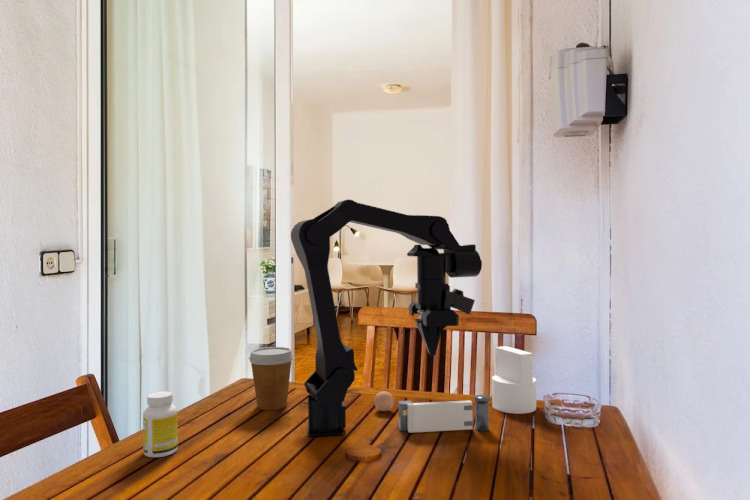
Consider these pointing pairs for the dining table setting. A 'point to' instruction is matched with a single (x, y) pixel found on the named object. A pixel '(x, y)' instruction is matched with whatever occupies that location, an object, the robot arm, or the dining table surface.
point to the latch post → (403, 415)
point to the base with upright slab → (514, 381)
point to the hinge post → (482, 412)
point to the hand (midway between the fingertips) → (432, 355)
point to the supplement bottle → (160, 425)
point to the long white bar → (439, 416)
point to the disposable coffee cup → (271, 376)
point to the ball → (383, 401)
